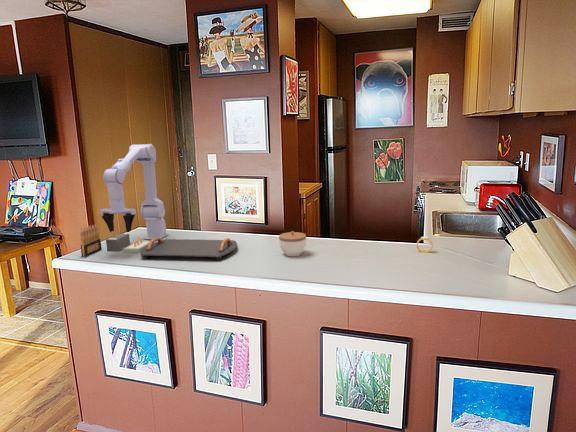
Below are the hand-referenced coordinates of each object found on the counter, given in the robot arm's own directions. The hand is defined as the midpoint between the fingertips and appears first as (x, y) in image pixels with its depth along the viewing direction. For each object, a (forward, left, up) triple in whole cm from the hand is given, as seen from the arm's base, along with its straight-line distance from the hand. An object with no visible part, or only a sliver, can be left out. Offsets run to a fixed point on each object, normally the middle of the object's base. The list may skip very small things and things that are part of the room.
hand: (120, 231), depth 185 cm
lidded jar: (-8, +70, -10) cm, 71 cm away
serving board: (-6, +27, -11) cm, 30 cm away
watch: (-16, +121, -10) cm, 122 cm away
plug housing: (-10, -8, -10) cm, 16 cm away
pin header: (-10, +2, -10) cm, 14 cm away
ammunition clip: (-1, -15, -10) cm, 18 cm away
